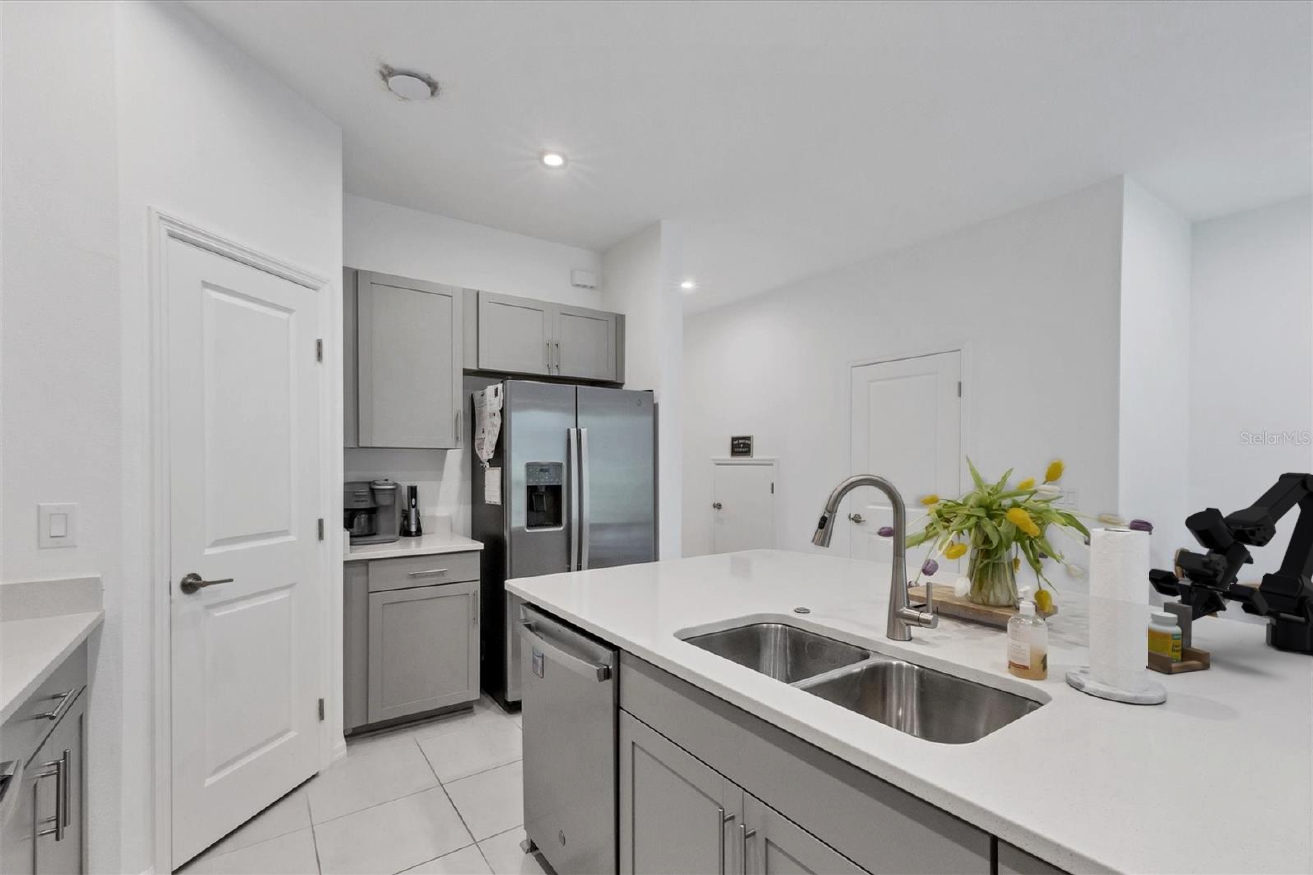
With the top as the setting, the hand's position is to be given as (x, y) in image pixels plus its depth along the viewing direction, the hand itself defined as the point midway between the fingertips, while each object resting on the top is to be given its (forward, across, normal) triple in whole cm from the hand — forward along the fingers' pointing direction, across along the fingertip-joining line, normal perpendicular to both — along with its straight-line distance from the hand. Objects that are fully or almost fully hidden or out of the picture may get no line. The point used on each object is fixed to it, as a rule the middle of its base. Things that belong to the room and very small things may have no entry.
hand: (1183, 621), depth 123 cm
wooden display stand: (+10, 0, +1) cm, 10 cm away
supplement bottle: (+10, 0, +2) cm, 10 cm away
